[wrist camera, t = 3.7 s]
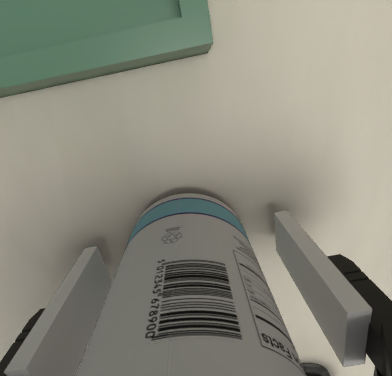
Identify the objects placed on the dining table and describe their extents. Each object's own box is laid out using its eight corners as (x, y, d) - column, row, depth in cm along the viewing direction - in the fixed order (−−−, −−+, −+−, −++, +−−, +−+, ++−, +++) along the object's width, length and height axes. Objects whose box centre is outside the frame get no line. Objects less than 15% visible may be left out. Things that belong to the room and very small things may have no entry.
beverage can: (117, 251, 15) (-63, 661, 4) (168, 165, 13) (77, 530, 2) (204, 290, 17) (239, 662, 6) (262, 218, 15) (488, 588, 4)
